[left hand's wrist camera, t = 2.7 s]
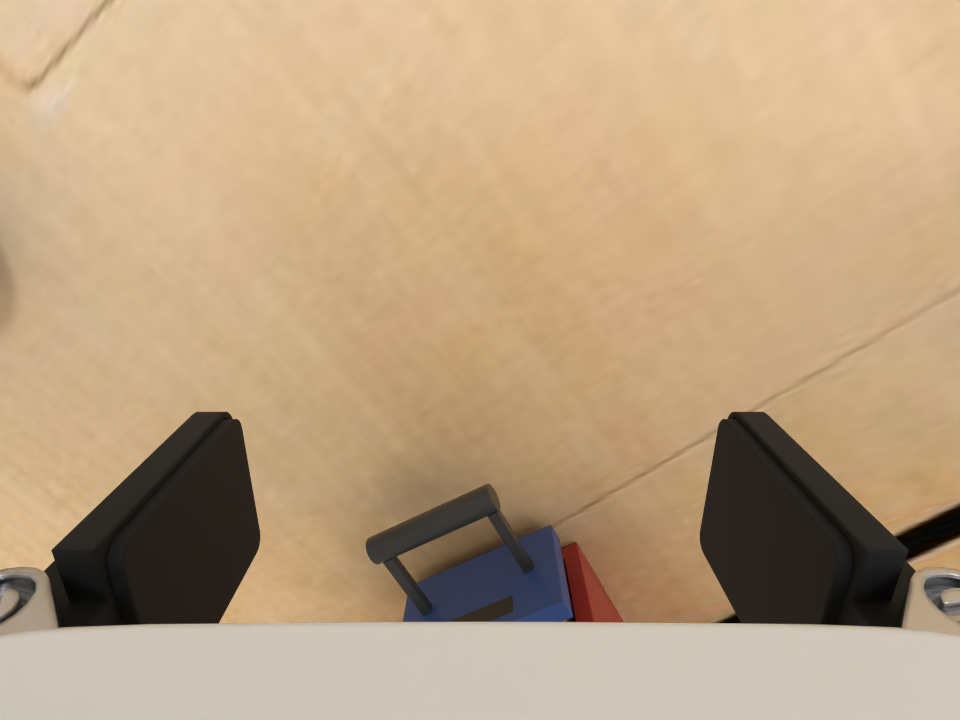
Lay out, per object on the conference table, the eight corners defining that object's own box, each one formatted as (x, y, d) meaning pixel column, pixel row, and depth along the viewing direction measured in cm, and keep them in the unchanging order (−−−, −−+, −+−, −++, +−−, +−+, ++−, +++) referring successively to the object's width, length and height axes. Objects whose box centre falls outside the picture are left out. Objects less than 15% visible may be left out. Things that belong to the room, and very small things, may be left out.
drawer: (358, 518, 34) (332, 594, 28) (505, 449, 32) (509, 515, 27) (539, 761, 42) (547, 859, 36) (666, 717, 40) (696, 813, 34)
